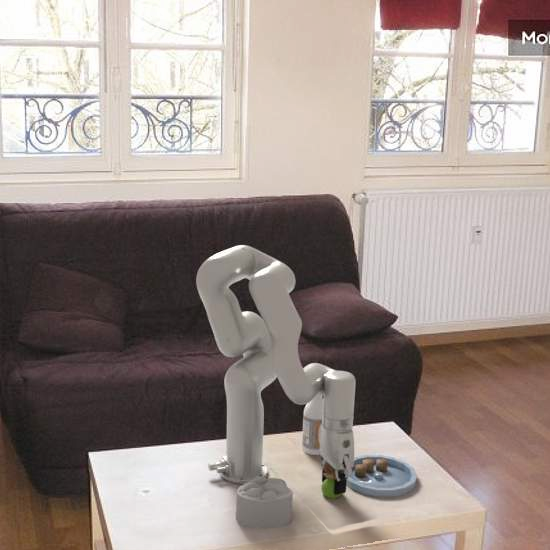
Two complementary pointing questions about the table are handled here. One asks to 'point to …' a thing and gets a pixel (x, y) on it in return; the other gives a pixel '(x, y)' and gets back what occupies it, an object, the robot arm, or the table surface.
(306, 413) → the bath foam
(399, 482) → the tray
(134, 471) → the table surface
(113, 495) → the table surface
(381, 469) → the bead
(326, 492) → the snail figurine
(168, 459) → the table surface
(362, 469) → the bead
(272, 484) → the lumpy-topped squat cylinder
